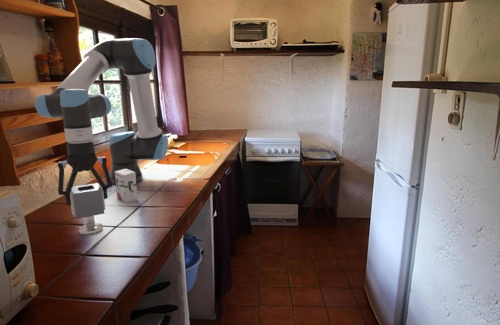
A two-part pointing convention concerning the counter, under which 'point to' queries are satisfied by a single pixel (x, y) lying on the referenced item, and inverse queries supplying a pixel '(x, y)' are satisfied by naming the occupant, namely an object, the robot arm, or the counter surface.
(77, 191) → the block
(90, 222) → the hub
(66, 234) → the counter surface
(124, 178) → the ink box
